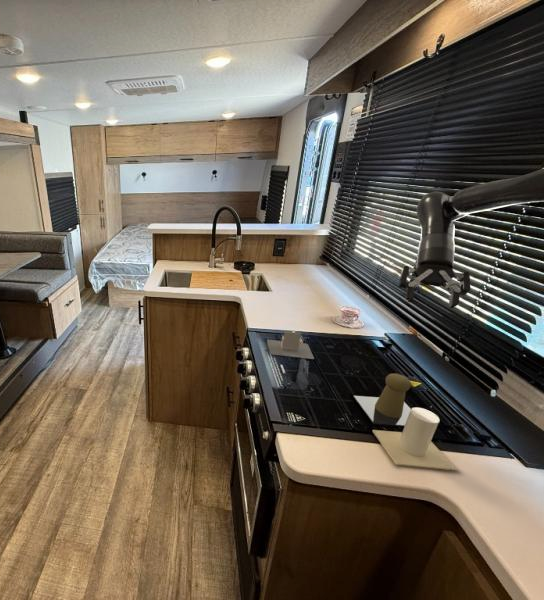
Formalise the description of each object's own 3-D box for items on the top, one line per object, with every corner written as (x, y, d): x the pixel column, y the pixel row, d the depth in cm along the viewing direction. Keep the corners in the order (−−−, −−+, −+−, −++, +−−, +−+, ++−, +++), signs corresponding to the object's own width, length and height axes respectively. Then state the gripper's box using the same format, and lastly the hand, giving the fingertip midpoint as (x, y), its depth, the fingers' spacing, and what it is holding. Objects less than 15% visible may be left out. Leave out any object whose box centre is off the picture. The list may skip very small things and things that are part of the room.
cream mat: (424, 435, 77) (424, 434, 77) (455, 470, 68) (456, 469, 68) (372, 431, 79) (372, 429, 78) (396, 464, 69) (396, 463, 69)
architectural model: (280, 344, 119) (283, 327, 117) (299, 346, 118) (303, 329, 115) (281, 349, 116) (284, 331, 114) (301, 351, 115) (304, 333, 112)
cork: (382, 416, 83) (393, 383, 78) (370, 401, 88) (380, 369, 84) (407, 419, 82) (420, 385, 77) (394, 403, 87) (405, 371, 83)
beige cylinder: (416, 440, 75) (429, 408, 71) (430, 457, 70) (445, 424, 67) (393, 438, 76) (405, 406, 72) (406, 455, 71) (420, 422, 67)
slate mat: (401, 400, 89) (401, 398, 89) (428, 428, 79) (428, 427, 79) (352, 396, 91) (353, 395, 91) (373, 424, 81) (373, 423, 81)
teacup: (326, 317, 141) (328, 305, 139) (350, 315, 142) (353, 303, 140) (344, 329, 130) (348, 316, 128) (370, 327, 131) (374, 314, 129)
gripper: (407, 243, 87) (401, 293, 83) (476, 248, 80) (474, 302, 75) (399, 257, 93) (393, 304, 89) (463, 263, 86) (460, 314, 82)
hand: (430, 303), depth 82 cm, fingers open, 8 cm apart
